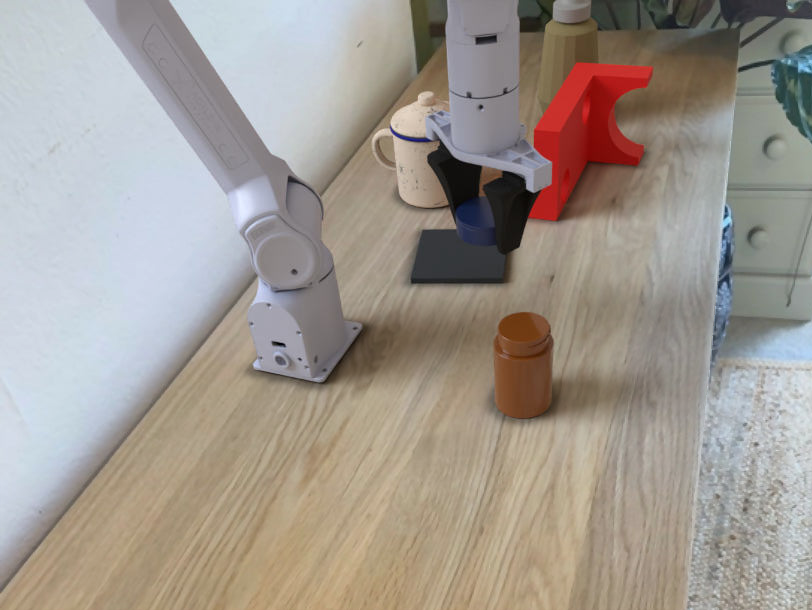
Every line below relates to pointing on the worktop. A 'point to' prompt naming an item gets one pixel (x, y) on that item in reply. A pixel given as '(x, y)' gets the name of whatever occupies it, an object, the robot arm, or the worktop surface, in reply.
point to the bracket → (584, 129)
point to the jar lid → (476, 222)
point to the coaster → (455, 260)
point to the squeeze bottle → (566, 46)
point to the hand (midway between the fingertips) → (487, 236)
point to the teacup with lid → (414, 152)
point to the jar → (523, 365)
